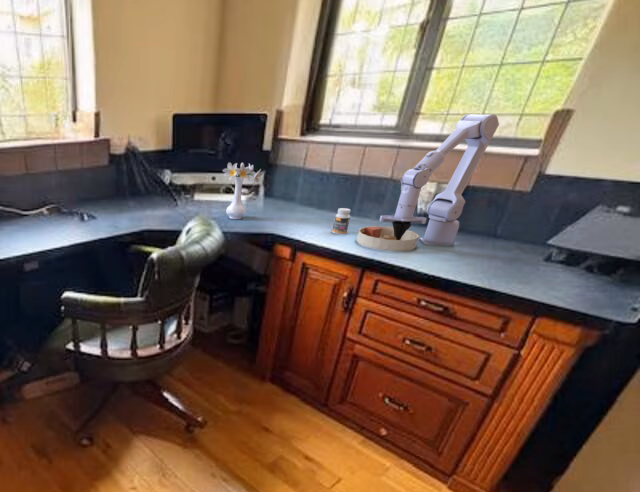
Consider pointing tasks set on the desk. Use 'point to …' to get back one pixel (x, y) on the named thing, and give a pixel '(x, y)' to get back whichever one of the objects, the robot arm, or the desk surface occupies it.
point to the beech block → (389, 237)
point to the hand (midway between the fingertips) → (396, 241)
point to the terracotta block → (373, 231)
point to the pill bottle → (341, 221)
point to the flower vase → (239, 187)
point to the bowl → (403, 244)
